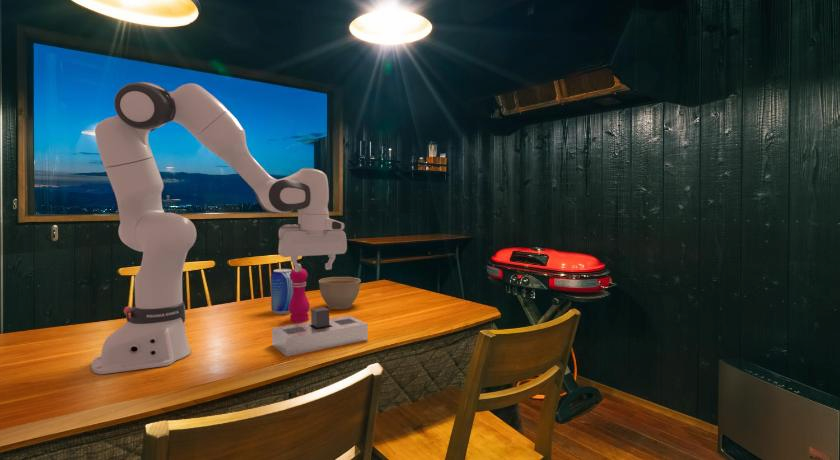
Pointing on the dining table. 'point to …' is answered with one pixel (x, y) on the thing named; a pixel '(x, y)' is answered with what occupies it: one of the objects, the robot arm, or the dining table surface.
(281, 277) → the beer can
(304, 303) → the pepper mill
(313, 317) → the steel block
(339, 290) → the planter bowl
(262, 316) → the dining table surface
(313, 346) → the white slotted block holder
